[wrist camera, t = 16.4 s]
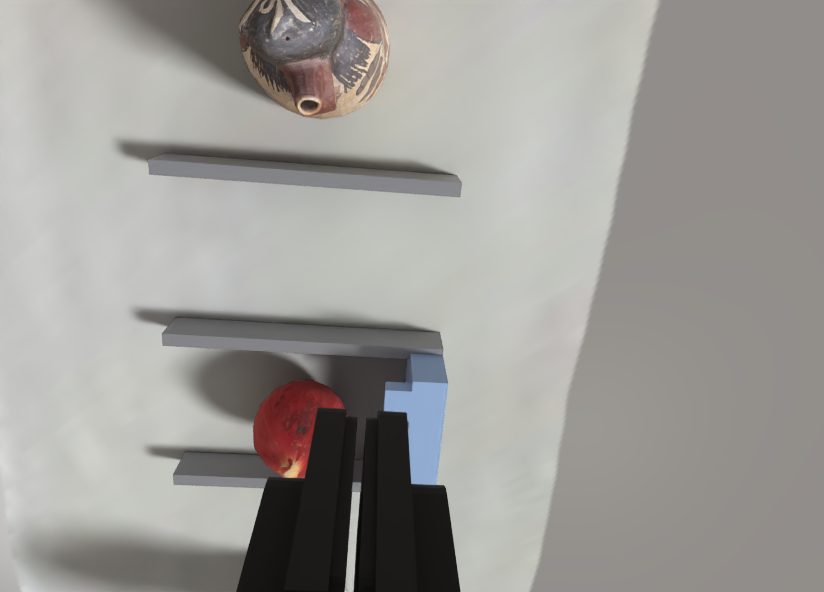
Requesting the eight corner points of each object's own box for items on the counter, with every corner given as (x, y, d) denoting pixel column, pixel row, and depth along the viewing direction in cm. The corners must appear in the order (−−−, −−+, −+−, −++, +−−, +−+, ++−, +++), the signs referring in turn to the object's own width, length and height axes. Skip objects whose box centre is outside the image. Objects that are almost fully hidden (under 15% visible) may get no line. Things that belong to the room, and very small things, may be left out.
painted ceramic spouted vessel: (383, -29, 31) (381, -86, 20) (394, 111, 33) (398, 132, 22) (248, -19, 31) (168, -70, 20) (269, 121, 33) (210, 147, 22)
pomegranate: (283, 346, 38) (258, 413, 31) (364, 377, 40) (359, 448, 32) (254, 416, 40) (224, 495, 33) (333, 443, 41) (320, 526, 34)
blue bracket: (386, 334, 38) (386, 380, 33) (439, 337, 39) (447, 383, 33) (376, 464, 42) (375, 525, 37) (425, 466, 42) (431, 527, 37)
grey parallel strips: (164, 153, 34) (148, 159, 31) (456, 175, 35) (461, 182, 33) (185, 461, 41) (173, 484, 39) (424, 471, 42) (427, 494, 40)
